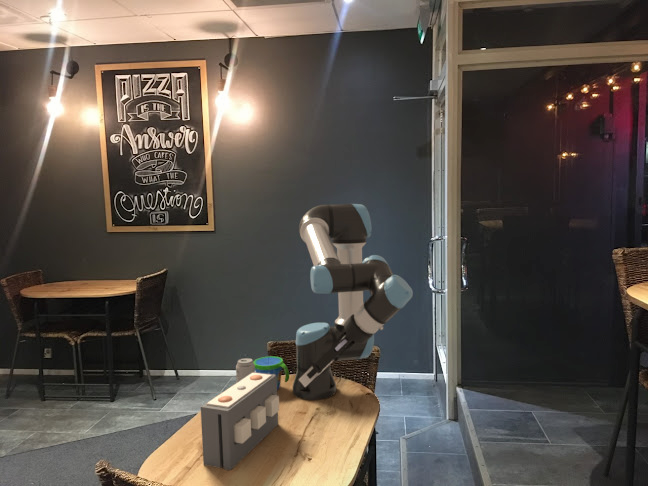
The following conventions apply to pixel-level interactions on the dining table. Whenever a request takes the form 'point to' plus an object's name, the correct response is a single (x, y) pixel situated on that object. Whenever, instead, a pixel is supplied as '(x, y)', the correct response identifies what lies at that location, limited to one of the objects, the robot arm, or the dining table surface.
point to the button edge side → (242, 430)
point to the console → (221, 426)
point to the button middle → (258, 417)
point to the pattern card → (239, 390)
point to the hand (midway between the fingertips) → (309, 377)
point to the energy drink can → (244, 368)
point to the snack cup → (272, 367)
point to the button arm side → (272, 405)
